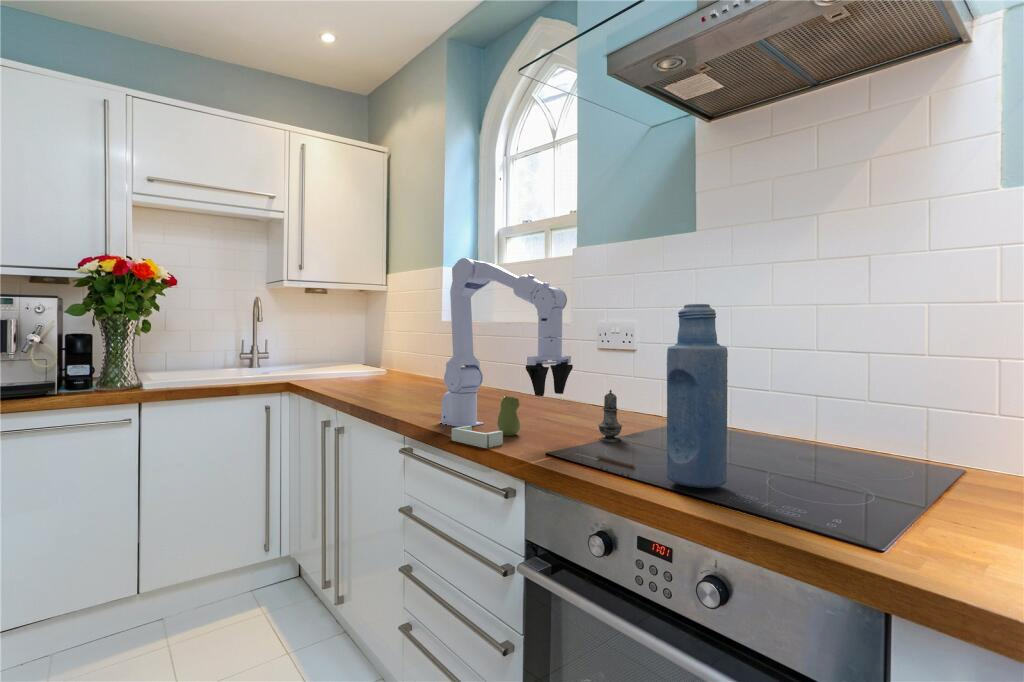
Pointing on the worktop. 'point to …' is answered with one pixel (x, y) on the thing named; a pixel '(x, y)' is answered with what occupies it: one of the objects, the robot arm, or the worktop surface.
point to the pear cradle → (477, 437)
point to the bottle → (697, 401)
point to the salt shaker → (610, 419)
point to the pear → (509, 416)
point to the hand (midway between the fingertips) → (549, 394)
